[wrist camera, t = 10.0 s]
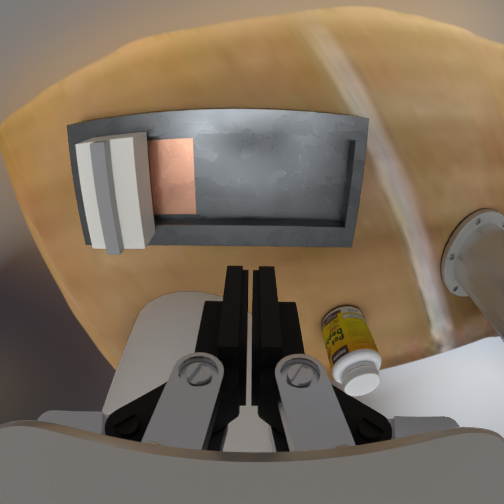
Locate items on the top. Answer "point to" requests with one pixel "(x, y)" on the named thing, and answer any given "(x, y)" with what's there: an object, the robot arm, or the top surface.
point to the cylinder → (168, 353)
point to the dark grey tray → (244, 174)
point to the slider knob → (116, 191)
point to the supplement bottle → (351, 350)
